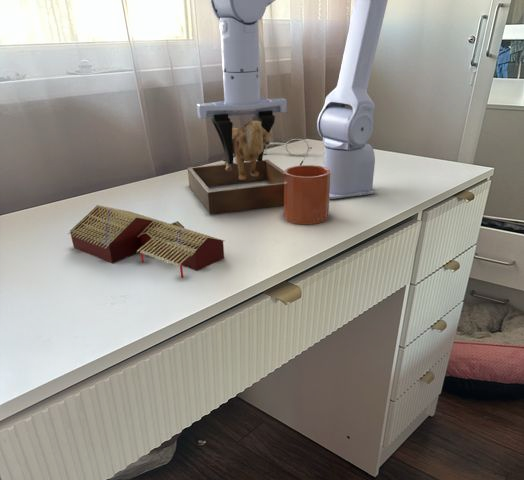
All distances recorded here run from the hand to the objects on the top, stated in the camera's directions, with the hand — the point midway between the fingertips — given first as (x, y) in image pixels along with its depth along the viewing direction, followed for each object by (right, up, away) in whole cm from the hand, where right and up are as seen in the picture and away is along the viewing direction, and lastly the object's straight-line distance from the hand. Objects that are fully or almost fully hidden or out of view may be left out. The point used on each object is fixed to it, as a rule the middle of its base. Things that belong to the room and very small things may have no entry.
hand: (244, 161), depth 87 cm
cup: (+11, -8, +4) cm, 14 cm away
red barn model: (-15, -17, -8) cm, 24 cm away
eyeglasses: (+5, +12, +36) cm, 38 cm away
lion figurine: (0, -2, +1) cm, 2 cm away
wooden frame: (-1, -1, +16) cm, 16 cm away
